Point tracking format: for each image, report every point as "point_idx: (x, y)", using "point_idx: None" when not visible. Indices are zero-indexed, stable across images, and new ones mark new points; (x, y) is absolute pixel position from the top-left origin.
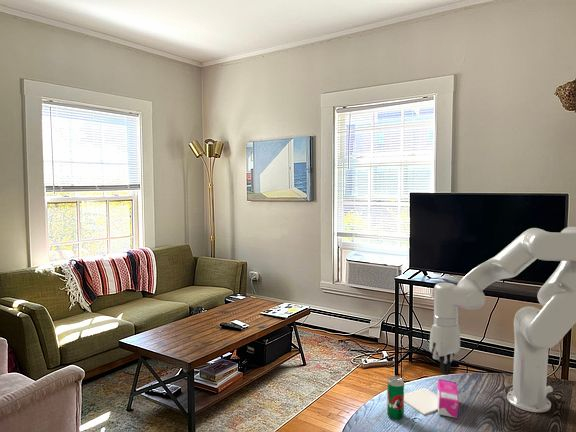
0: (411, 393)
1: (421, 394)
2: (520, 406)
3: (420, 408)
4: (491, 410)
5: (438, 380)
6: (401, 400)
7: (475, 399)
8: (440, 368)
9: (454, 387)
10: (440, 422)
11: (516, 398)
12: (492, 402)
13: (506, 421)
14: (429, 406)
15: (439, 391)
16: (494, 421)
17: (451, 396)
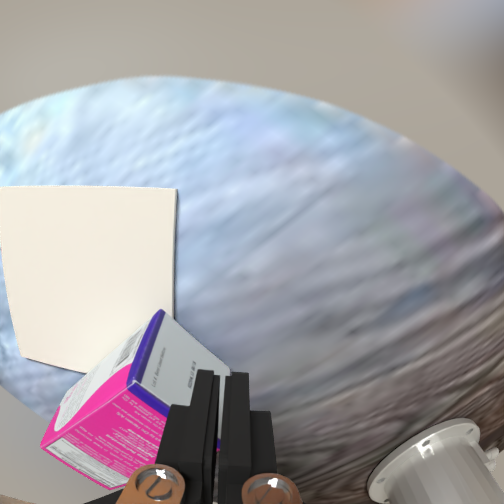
0: (61, 200)
1: (99, 240)
2: (369, 487)
3: (24, 326)
4: (288, 463)
5: (127, 380)
6: None
7: (320, 404)
8: (169, 413)
9: None
10: (56, 409)
11: (396, 479)
12: (349, 438)
13: None
14: (64, 341)
15: (62, 429)
16: None
17: (96, 471)
